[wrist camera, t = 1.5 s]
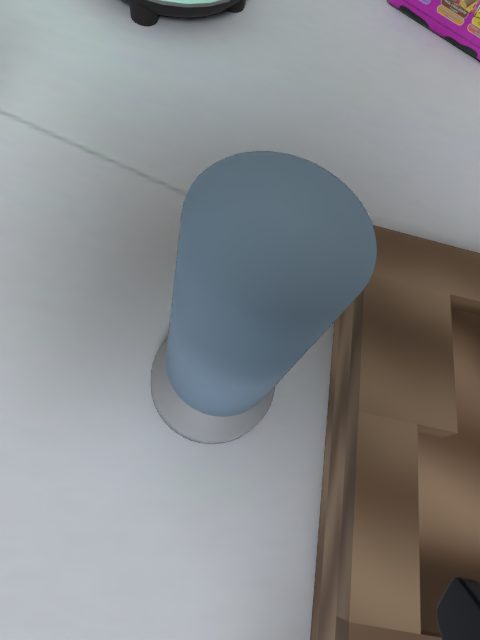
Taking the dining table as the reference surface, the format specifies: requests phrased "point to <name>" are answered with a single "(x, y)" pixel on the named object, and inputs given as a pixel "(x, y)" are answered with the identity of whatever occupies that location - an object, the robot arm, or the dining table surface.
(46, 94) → the dining table surface
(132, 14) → the mint green blender
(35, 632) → the dining table surface
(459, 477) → the keyhole board
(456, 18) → the candy bar box
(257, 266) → the keyhole stud
